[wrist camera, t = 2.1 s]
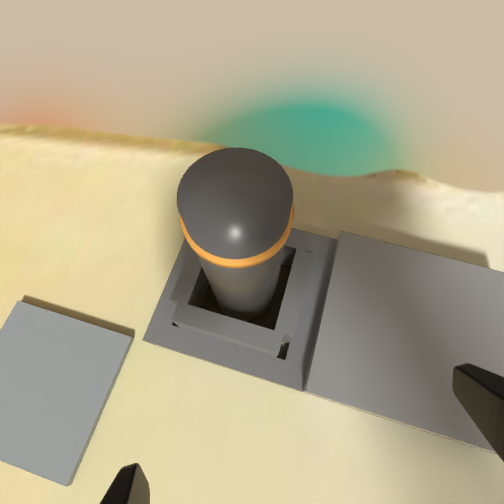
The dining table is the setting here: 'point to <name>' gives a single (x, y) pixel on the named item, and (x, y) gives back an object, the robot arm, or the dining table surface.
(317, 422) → the dining table surface
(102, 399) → the mat
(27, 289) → the dining table surface
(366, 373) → the socket block
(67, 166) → the dining table surface
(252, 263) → the plug
